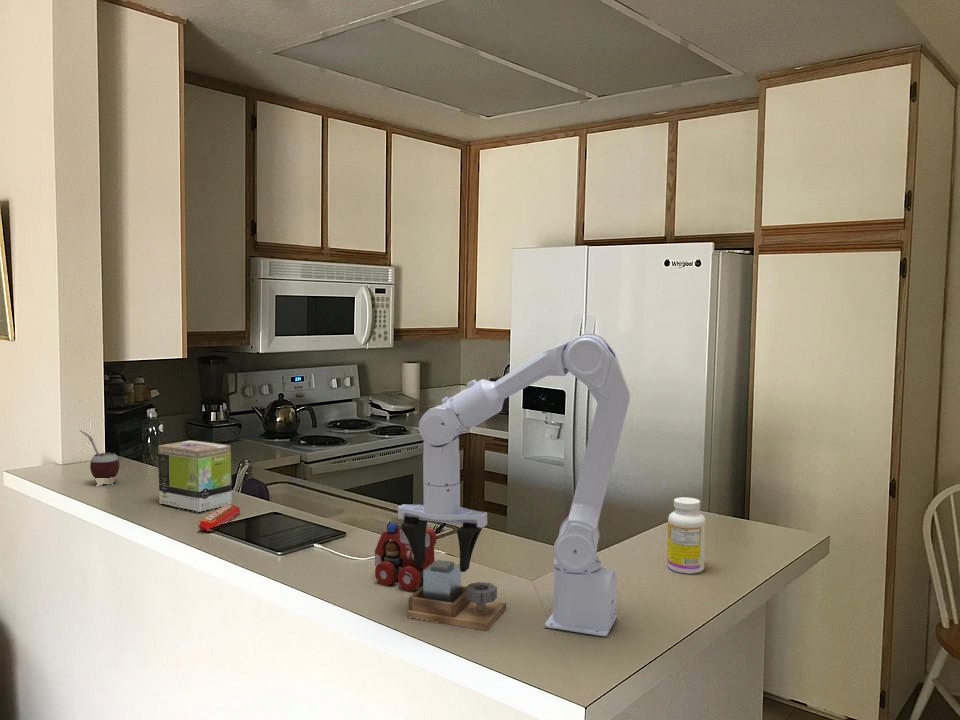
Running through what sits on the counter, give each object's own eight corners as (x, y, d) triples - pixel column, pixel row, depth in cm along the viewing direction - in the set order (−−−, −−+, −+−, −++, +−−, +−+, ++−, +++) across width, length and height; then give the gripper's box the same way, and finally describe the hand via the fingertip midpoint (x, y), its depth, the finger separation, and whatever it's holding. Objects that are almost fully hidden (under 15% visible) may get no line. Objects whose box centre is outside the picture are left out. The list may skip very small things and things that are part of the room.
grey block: (460, 601, 125) (460, 560, 124) (449, 611, 121) (449, 569, 120) (435, 597, 126) (434, 557, 126) (423, 607, 122) (423, 566, 122)
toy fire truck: (390, 570, 142) (389, 514, 141) (446, 583, 136) (446, 524, 135) (365, 581, 136) (365, 523, 136) (422, 595, 130) (422, 534, 129)
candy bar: (212, 535, 164) (212, 521, 164) (196, 534, 164) (195, 520, 164) (243, 514, 180) (242, 501, 179) (227, 514, 180) (227, 501, 180)
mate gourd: (125, 482, 210) (124, 427, 209) (102, 489, 202) (100, 432, 201) (104, 480, 212) (103, 425, 211) (80, 486, 205) (78, 430, 204)
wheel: (500, 594, 122) (500, 584, 122) (490, 605, 118) (490, 594, 118) (472, 590, 124) (472, 580, 124) (461, 600, 119) (461, 590, 119)
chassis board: (506, 608, 124) (506, 585, 124) (486, 630, 116) (486, 605, 116) (430, 597, 129) (431, 574, 129) (406, 617, 120) (406, 593, 120)
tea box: (233, 505, 187) (232, 444, 186) (198, 514, 179) (196, 451, 178) (193, 496, 195) (191, 438, 194) (157, 505, 187) (156, 444, 186)
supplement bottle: (679, 560, 148) (681, 493, 147) (711, 568, 143) (712, 500, 142) (660, 568, 143) (661, 500, 142) (692, 577, 139) (694, 506, 138)
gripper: (493, 480, 123) (494, 564, 124) (411, 473, 128) (411, 554, 129) (477, 490, 116) (478, 579, 117) (391, 482, 121) (392, 567, 122)
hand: (442, 567), depth 123 cm, fingers open, 7 cm apart
